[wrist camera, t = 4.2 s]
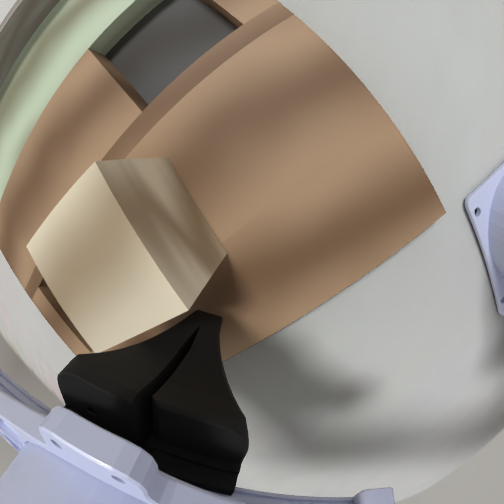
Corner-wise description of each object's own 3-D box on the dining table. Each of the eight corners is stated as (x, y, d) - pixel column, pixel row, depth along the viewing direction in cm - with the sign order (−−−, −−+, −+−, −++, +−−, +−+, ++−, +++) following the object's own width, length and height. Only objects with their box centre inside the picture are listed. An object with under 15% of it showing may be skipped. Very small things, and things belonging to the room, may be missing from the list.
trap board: (427, 204, 12) (482, 229, 7) (138, 390, 19) (111, 433, 15) (146, -61, 8) (115, -93, 3) (-20, 163, 15) (-59, 172, 10)
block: (227, 253, 12) (188, 310, 8) (149, 297, 14) (96, 354, 9) (167, 157, 11) (95, 161, 7) (97, 216, 13) (26, 246, 8)
